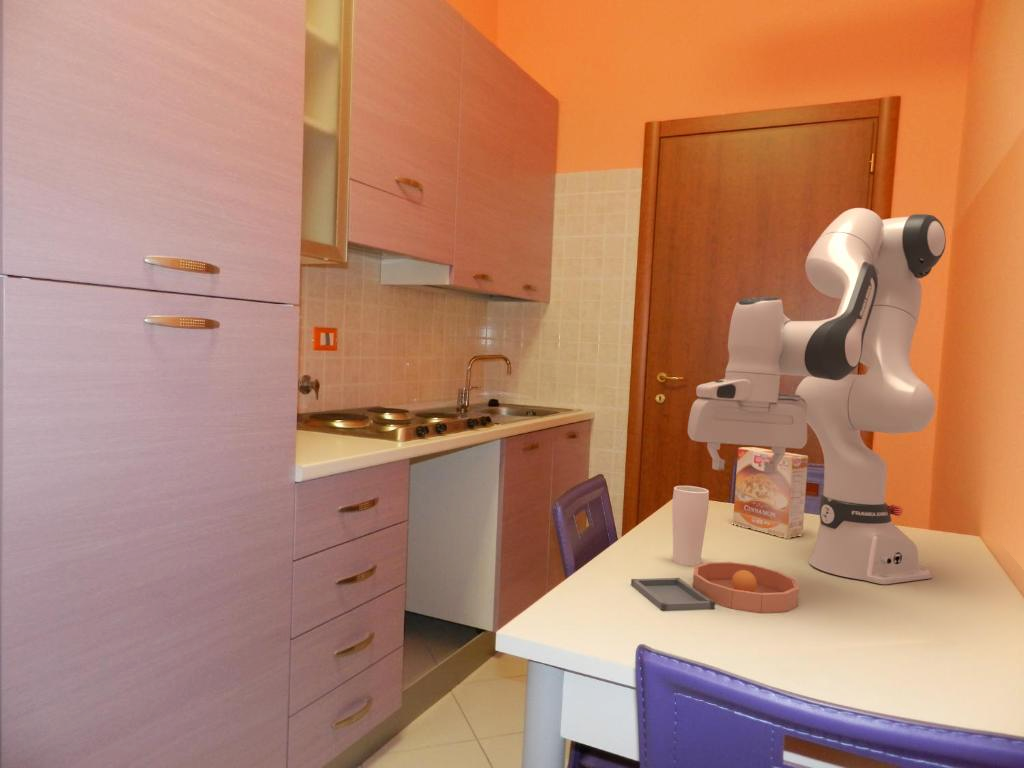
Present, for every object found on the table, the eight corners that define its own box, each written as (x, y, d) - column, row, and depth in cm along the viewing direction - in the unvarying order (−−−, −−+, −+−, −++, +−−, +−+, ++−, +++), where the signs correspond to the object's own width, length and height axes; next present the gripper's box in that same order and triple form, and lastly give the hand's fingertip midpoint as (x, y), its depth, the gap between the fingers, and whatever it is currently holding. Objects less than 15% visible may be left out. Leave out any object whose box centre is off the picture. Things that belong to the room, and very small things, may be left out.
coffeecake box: (731, 525, 169) (736, 447, 168) (748, 522, 173) (753, 446, 173) (786, 539, 157) (792, 456, 156) (803, 536, 161) (809, 455, 161)
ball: (747, 589, 118) (748, 566, 118) (760, 597, 114) (762, 574, 114) (726, 590, 117) (728, 567, 117) (739, 598, 113) (741, 574, 113)
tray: (678, 586, 119) (678, 577, 119) (714, 612, 107) (714, 602, 107) (630, 588, 117) (631, 579, 117) (662, 614, 105) (662, 604, 105)
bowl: (757, 579, 126) (758, 561, 125) (818, 614, 109) (820, 592, 109) (675, 582, 122) (676, 562, 121) (726, 618, 105) (727, 595, 105)
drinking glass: (705, 572, 129) (710, 493, 128) (669, 567, 130) (674, 490, 129) (702, 561, 135) (707, 487, 135) (668, 558, 137) (672, 484, 136)
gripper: (798, 394, 120) (791, 472, 120) (687, 385, 118) (681, 464, 118) (818, 396, 114) (811, 477, 114) (702, 387, 112) (695, 470, 112)
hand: (744, 471), depth 116 cm, fingers open, 8 cm apart
